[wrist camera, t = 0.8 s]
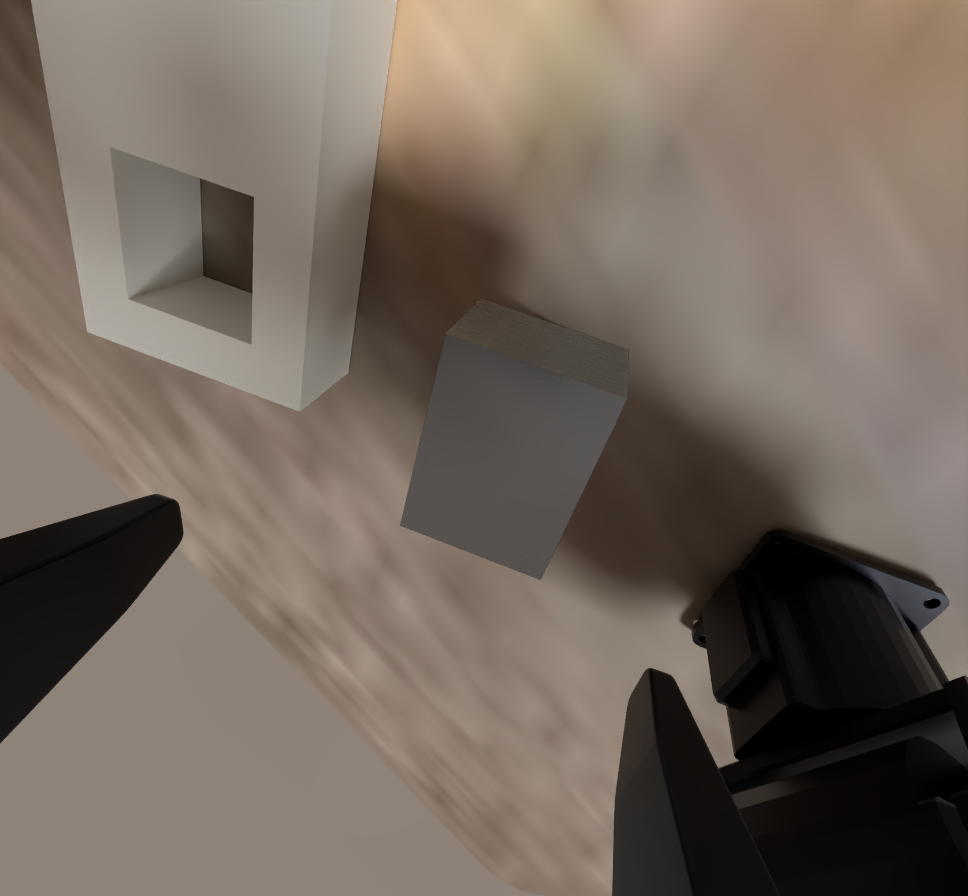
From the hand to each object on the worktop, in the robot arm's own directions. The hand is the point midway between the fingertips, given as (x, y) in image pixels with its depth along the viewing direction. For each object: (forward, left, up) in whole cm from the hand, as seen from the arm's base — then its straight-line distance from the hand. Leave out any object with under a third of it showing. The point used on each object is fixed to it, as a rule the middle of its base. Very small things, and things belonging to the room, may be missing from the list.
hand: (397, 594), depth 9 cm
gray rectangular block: (-1, -1, -11) cm, 11 cm away
